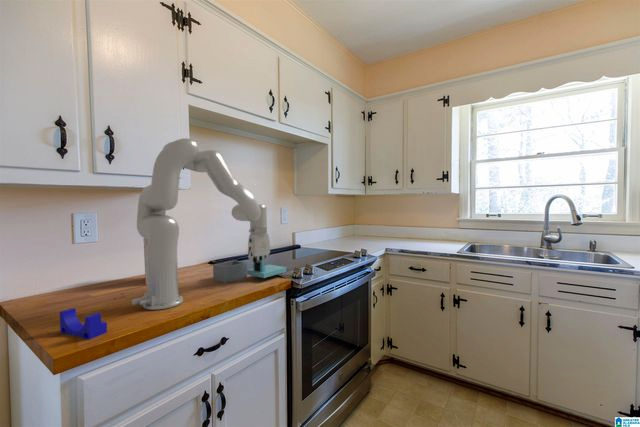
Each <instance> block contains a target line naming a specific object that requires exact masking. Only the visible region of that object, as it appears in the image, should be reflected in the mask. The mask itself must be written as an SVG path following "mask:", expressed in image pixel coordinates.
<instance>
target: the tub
mask: <svg viewBox="0 0 640 427" xmlns="http://www.w3.org/2000/svg"><path fill="white" fill-rule="evenodd" d="M247 264H248V263H247V262H246V261H245V262H244V261H241V260H240V261H239V260H236V259H235V260H229V261H225V262H220V263H219V262H218V263H215V264H212V270H213V271H212V277H213V278H212V279H213V280H214V281H216V282H217V281H218V282H221V283H225V284H227V283H230V282H233V281H238V280H241V279H244V278H247V277H248V274H247V270H248V269H247Z"/></svg>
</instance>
